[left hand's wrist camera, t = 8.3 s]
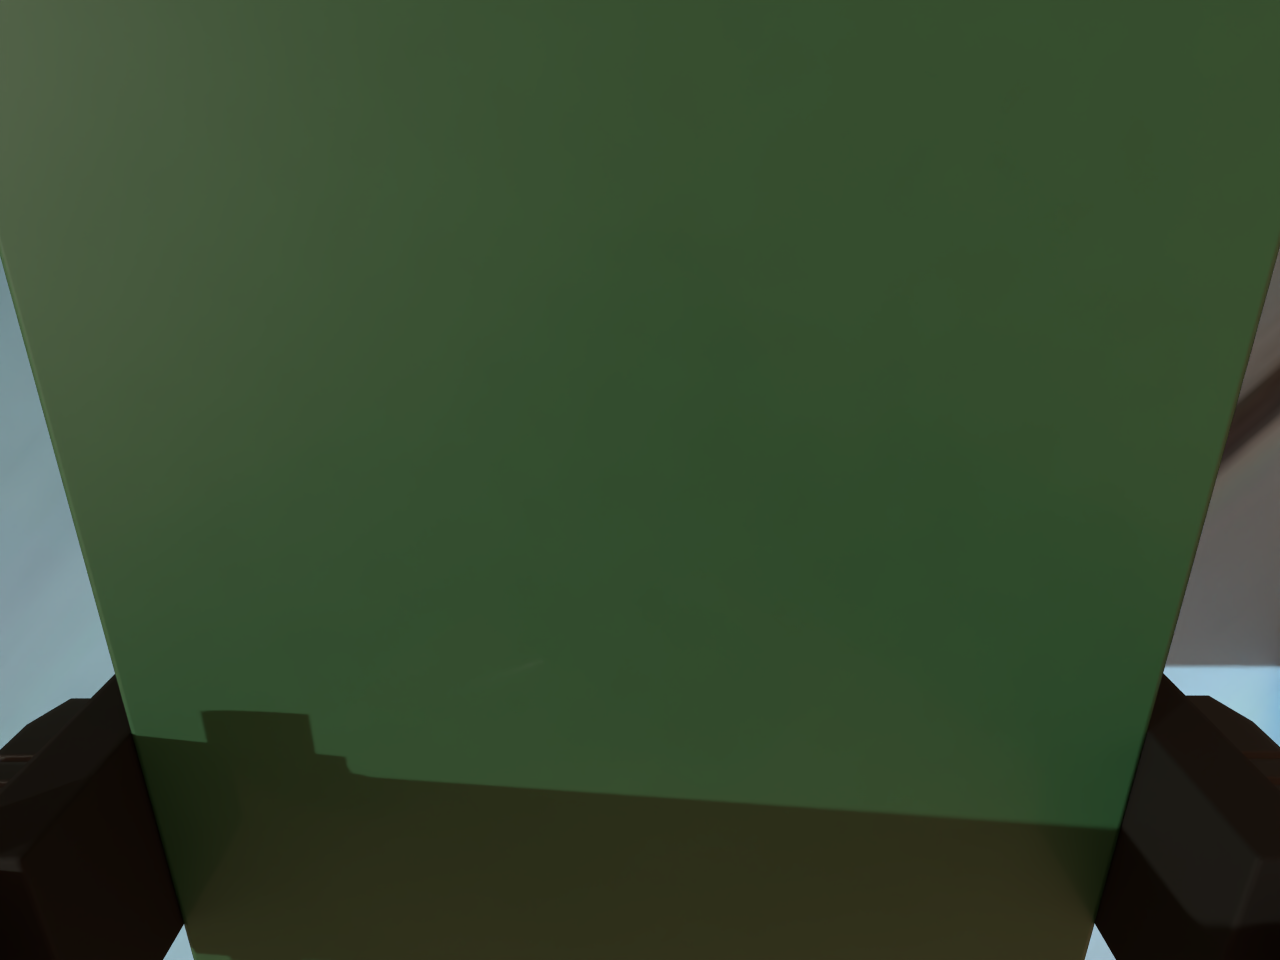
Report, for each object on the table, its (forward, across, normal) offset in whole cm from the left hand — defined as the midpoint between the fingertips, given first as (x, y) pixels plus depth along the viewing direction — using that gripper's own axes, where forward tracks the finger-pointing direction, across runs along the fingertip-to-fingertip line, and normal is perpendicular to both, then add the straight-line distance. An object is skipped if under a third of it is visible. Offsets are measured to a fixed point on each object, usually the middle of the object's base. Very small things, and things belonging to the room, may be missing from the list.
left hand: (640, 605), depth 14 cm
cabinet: (+6, 0, -7) cm, 9 cm away
